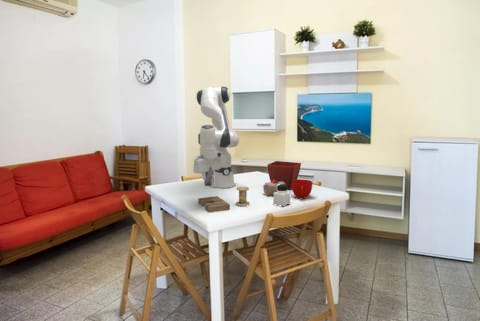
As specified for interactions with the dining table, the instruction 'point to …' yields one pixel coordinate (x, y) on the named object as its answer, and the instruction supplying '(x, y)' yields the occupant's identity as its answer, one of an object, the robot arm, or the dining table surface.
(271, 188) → the food item
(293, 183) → the ceramic cup
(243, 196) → the tan spool
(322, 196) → the dining table surface
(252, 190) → the dining table surface
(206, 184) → the gold lidded spice jar
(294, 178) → the plant pot
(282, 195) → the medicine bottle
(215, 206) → the notch board
